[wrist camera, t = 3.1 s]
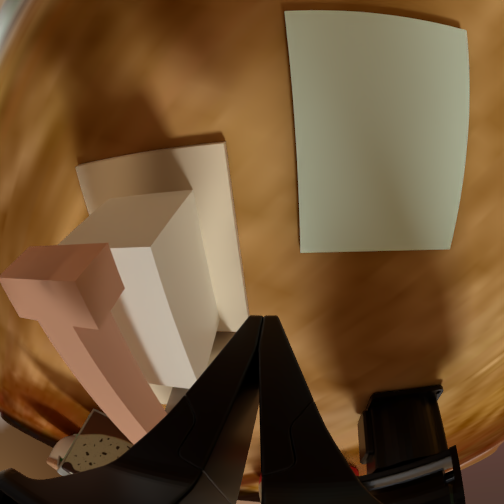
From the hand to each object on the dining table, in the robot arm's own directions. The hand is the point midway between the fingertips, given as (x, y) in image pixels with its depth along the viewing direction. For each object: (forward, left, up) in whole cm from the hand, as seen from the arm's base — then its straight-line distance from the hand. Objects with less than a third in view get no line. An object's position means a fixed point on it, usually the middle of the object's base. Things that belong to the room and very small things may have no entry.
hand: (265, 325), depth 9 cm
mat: (-5, -4, -7) cm, 9 cm away
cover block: (+6, +2, -6) cm, 9 cm away
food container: (+20, +28, -7) cm, 35 cm away
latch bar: (+6, +4, 0) cm, 7 cm away
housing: (+6, +4, -7) cm, 10 cm away
